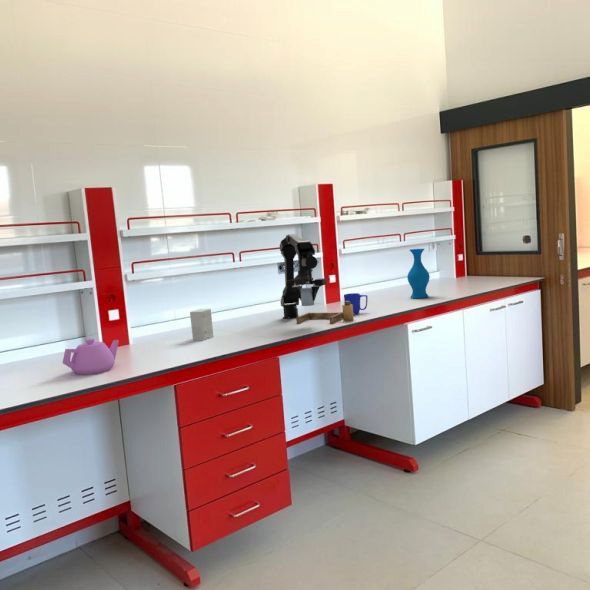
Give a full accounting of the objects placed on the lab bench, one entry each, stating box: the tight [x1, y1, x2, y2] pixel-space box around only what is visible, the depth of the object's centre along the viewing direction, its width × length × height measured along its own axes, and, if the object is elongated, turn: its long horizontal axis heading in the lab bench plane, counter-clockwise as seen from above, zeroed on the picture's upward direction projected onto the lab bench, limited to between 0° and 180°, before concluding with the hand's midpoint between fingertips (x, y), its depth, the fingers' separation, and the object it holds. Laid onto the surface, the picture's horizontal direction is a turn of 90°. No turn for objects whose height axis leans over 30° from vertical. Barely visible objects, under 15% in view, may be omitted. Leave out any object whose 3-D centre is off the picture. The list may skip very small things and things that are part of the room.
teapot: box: [62, 338, 120, 376], centre depth 227 cm, size 22×16×12 cm
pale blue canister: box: [300, 286, 315, 307], centre depth 287 cm, size 6×9×8 cm
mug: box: [343, 292, 368, 315], centre depth 313 cm, size 8×12×10 cm
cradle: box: [295, 311, 343, 325], centre depth 299 cm, size 19×14×3 cm
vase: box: [407, 248, 431, 299], centre depth 352 cm, size 12×13×28 cm
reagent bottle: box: [341, 300, 355, 322], centre depth 294 cm, size 5×5×9 cm
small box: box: [189, 308, 214, 341], centre depth 276 cm, size 8×6×13 cm
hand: (307, 300), depth 286 cm, fingers closed on pale blue canister, 6 cm apart
